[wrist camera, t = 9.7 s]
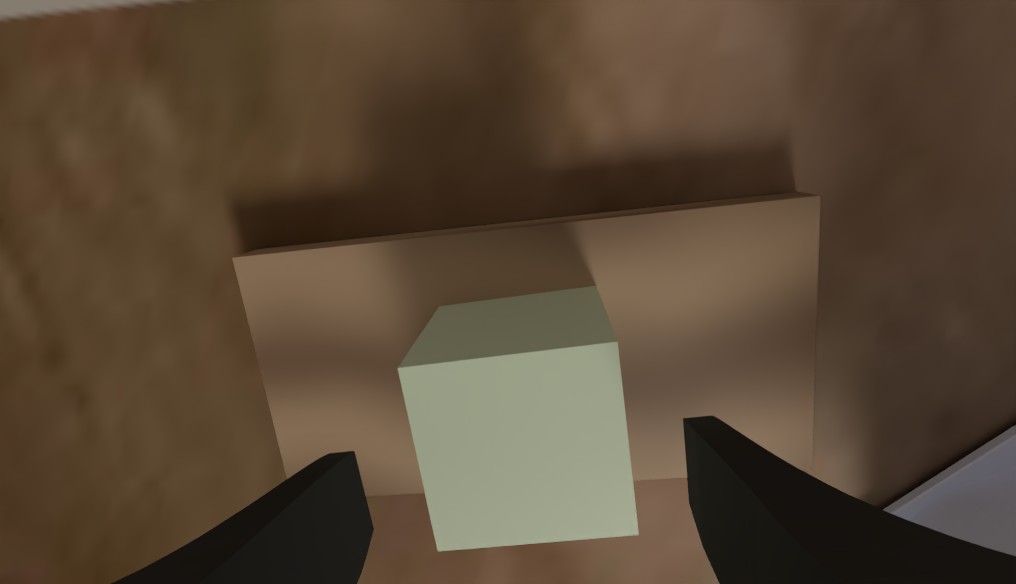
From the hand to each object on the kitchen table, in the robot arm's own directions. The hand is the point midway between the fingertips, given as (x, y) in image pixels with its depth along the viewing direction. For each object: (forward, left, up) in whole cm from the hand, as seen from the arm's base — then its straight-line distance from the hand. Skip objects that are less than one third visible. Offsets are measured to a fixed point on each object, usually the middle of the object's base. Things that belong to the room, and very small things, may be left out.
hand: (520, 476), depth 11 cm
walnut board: (0, 0, -8) cm, 8 cm away
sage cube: (0, 0, -6) cm, 6 cm away
